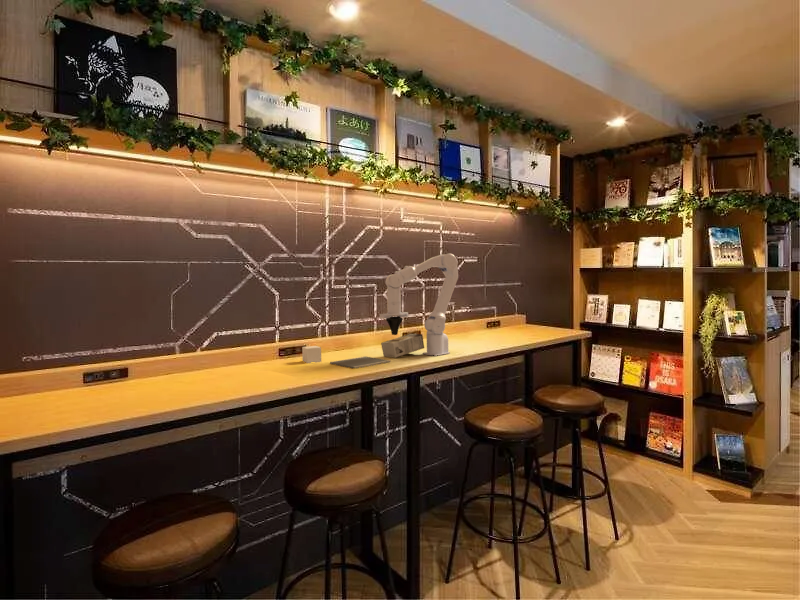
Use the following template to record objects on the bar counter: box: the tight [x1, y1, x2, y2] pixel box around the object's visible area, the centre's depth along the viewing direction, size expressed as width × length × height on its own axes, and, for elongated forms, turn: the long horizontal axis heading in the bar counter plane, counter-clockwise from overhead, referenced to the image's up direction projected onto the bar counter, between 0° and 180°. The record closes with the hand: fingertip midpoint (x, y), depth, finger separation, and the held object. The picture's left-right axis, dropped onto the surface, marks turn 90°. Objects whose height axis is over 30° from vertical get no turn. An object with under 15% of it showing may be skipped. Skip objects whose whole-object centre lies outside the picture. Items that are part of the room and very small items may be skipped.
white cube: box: [301, 345, 322, 364], centre depth 188 cm, size 6×6×6 cm
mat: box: [329, 356, 392, 369], centre depth 182 cm, size 18×16×1 cm
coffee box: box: [380, 333, 425, 359], centre depth 198 cm, size 9×6×16 cm
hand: (394, 334), depth 195 cm, fingers closed
